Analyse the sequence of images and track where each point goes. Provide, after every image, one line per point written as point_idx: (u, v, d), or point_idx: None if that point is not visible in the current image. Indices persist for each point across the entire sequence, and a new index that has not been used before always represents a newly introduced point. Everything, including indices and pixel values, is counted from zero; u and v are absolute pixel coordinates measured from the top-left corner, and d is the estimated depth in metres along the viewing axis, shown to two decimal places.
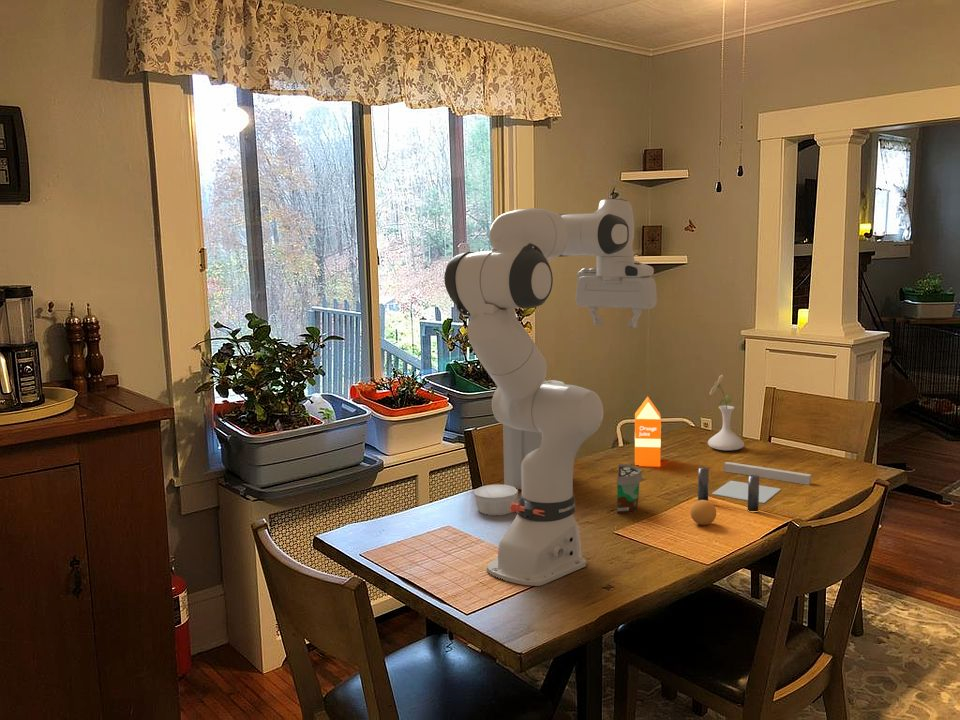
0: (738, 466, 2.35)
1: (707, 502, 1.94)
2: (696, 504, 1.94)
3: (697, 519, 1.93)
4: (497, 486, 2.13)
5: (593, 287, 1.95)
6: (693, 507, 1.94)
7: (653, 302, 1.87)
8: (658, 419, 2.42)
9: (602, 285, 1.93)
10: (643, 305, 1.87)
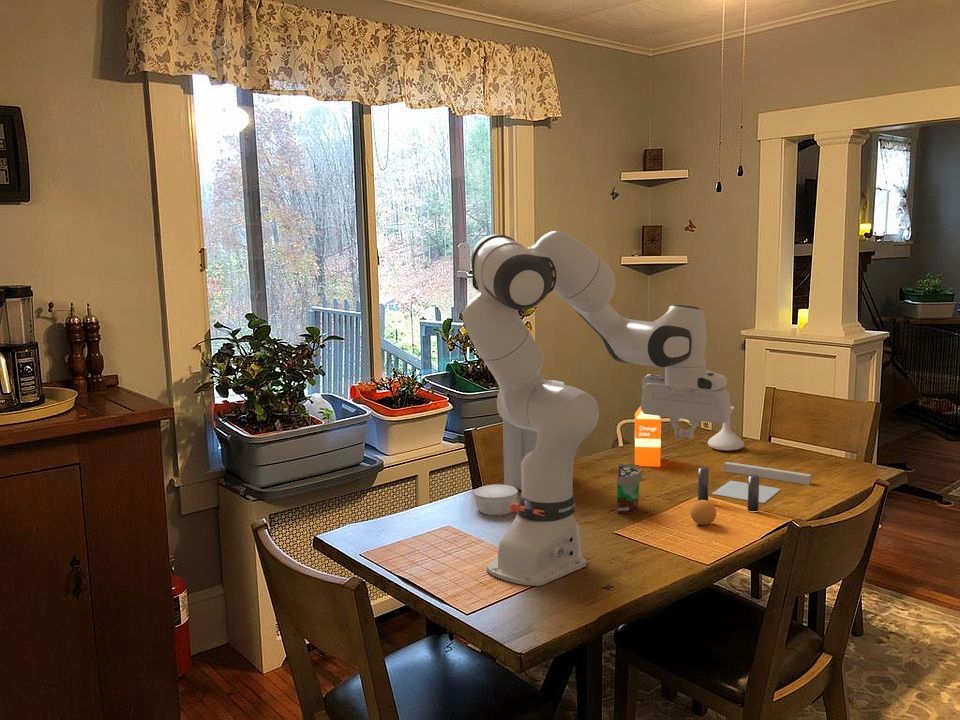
0: (738, 466, 2.35)
1: (707, 502, 1.94)
2: (696, 504, 1.94)
3: (697, 519, 1.93)
4: (497, 486, 2.13)
5: (660, 395, 1.83)
6: (693, 507, 1.94)
7: (727, 416, 1.75)
8: (658, 419, 2.42)
9: (671, 394, 1.81)
10: (717, 419, 1.75)
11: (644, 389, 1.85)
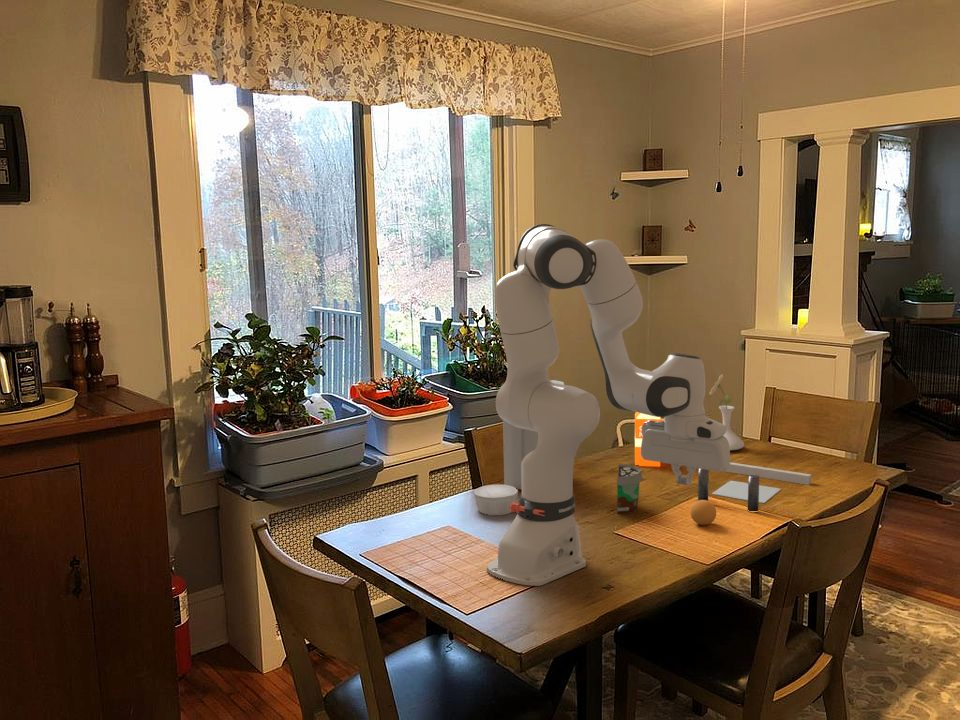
0: (738, 466, 2.35)
1: (707, 502, 1.94)
2: (696, 504, 1.94)
3: (697, 519, 1.93)
4: (497, 486, 2.13)
5: (660, 442, 1.84)
6: (693, 507, 1.94)
7: (727, 464, 1.77)
8: (658, 419, 2.42)
9: (670, 441, 1.83)
10: (716, 468, 1.76)
11: (644, 435, 1.86)
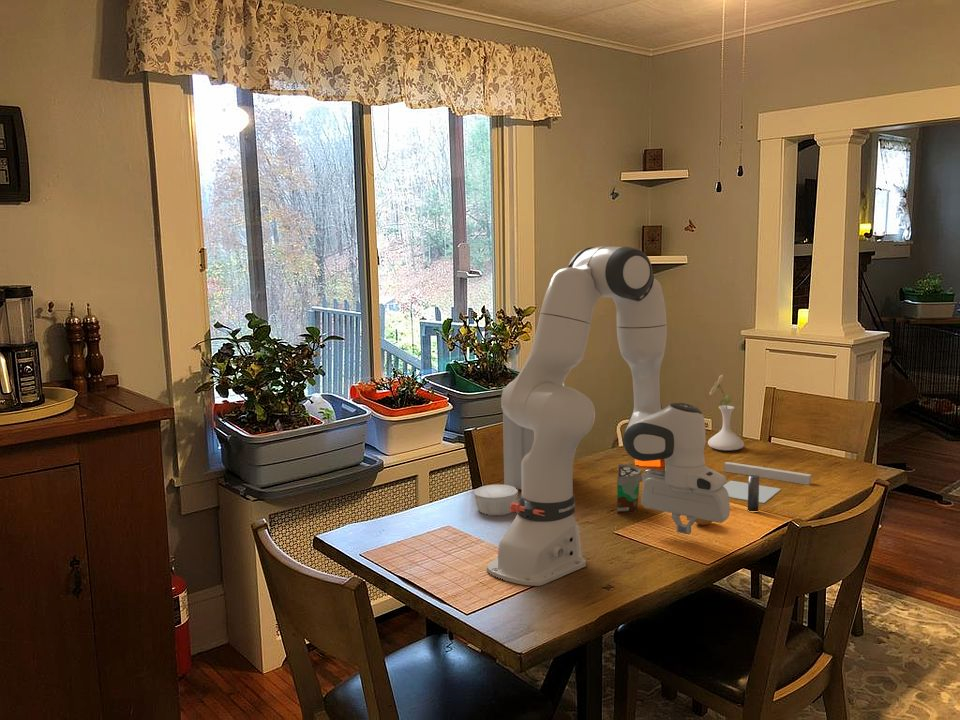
0: (738, 466, 2.35)
1: None
2: None
3: (697, 519, 1.93)
4: (497, 486, 2.13)
5: (661, 491, 1.86)
6: None
7: (726, 515, 1.79)
8: None
9: (671, 491, 1.85)
10: (716, 519, 1.78)
11: (645, 484, 1.88)
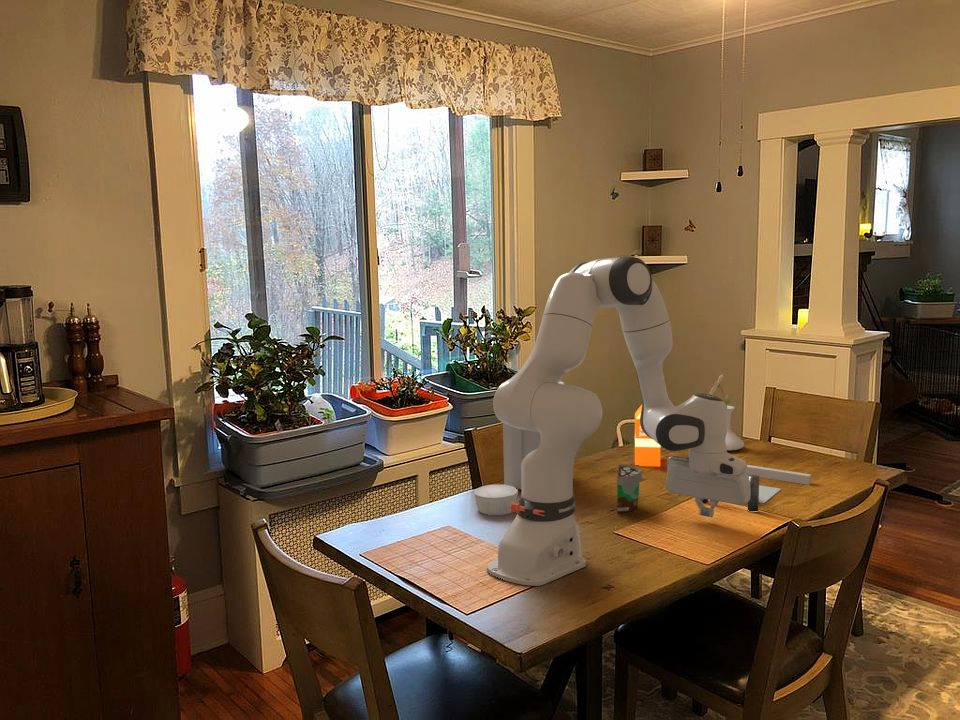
0: None
1: None
2: None
3: None
4: (497, 486, 2.13)
5: (685, 476, 1.97)
6: None
7: (747, 499, 1.89)
8: None
9: (694, 476, 1.95)
10: (738, 502, 1.89)
11: (669, 470, 1.99)
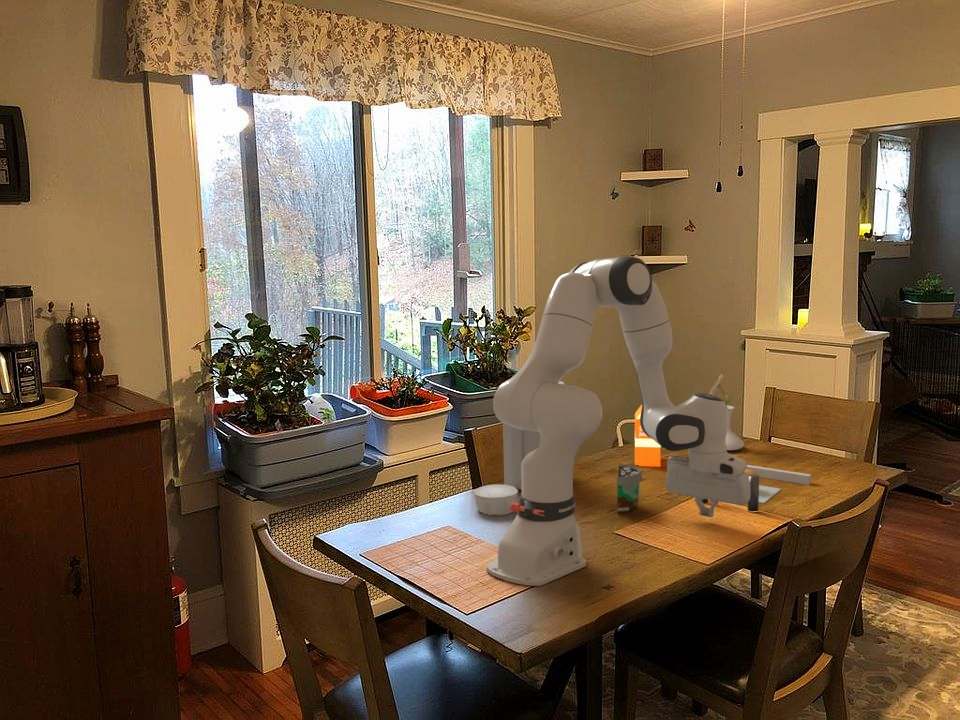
0: None
1: None
2: None
3: None
4: (497, 486, 2.13)
5: (685, 476, 1.97)
6: None
7: (747, 499, 1.89)
8: None
9: (694, 476, 1.95)
10: (738, 502, 1.89)
11: (669, 470, 1.99)
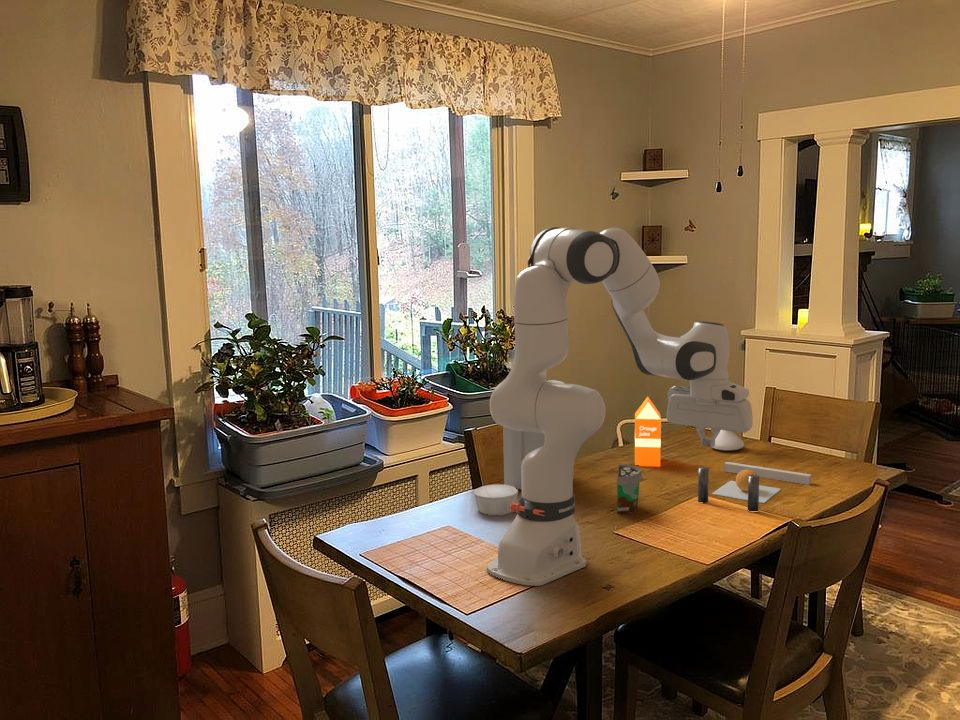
0: (738, 466, 2.35)
1: None
2: None
3: None
4: (497, 486, 2.13)
5: (686, 406, 1.94)
6: None
7: (749, 426, 1.87)
8: (658, 419, 2.42)
9: (695, 405, 1.93)
10: (740, 429, 1.87)
11: (670, 400, 1.96)
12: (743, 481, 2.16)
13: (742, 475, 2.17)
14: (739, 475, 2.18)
